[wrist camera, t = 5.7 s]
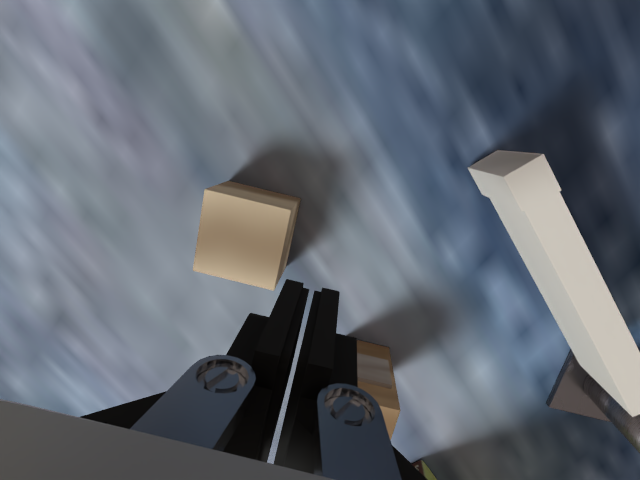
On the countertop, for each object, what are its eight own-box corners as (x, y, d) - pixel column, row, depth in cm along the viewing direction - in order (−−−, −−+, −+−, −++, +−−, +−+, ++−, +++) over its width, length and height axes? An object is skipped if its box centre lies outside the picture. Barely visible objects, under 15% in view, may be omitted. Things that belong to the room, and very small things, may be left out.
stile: (345, 333, 25) (343, 392, 19) (389, 344, 25) (401, 406, 19) (336, 367, 26) (331, 434, 20) (379, 378, 26) (387, 448, 20)
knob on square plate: (576, 337, 24) (648, 401, 18) (655, 355, 24) (753, 426, 18) (546, 403, 25) (604, 482, 19) (620, 420, 25) (701, 505, 19)
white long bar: (599, 345, 24) (667, 403, 18) (570, 358, 24) (630, 417, 19) (496, 149, 21) (543, 153, 16) (466, 167, 21) (503, 177, 16)
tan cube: (229, 180, 23) (204, 189, 19) (301, 198, 23) (291, 210, 19) (218, 249, 24) (192, 270, 20) (286, 266, 24) (273, 290, 20)
